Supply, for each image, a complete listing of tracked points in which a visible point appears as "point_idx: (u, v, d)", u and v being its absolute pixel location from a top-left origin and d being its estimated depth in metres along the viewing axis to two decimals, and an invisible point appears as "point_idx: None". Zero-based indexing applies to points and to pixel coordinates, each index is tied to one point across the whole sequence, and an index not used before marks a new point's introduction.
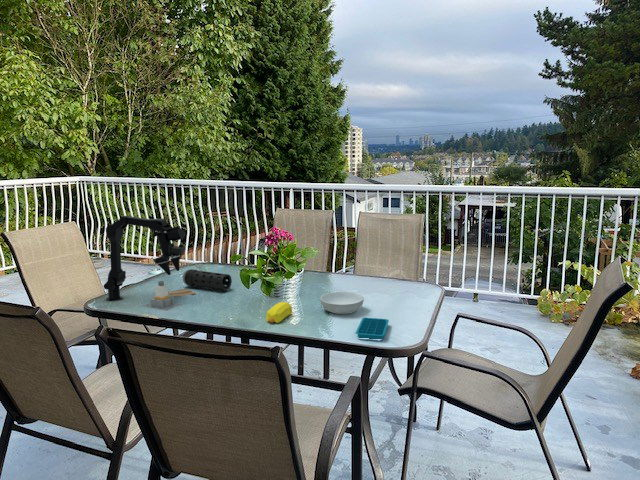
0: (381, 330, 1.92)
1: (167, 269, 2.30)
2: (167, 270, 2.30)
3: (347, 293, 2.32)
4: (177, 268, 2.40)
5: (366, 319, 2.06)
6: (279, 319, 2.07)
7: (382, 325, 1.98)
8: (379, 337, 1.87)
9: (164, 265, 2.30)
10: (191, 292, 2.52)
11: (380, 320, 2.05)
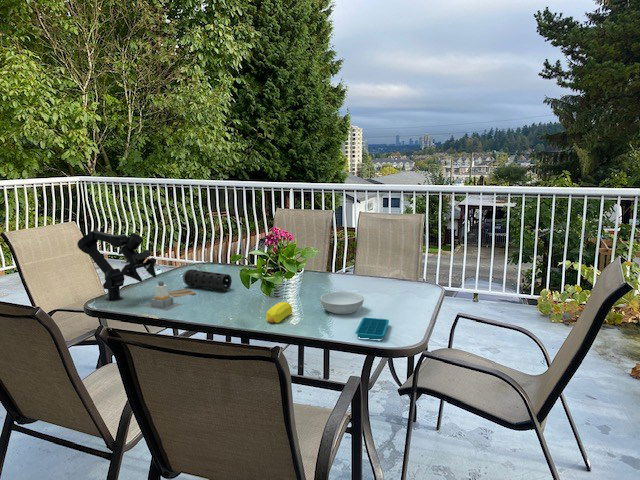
0: (381, 330, 1.92)
1: (136, 276, 2.27)
2: (137, 277, 2.27)
3: (347, 293, 2.32)
4: (153, 275, 2.36)
5: (366, 319, 2.06)
6: (279, 319, 2.07)
7: (382, 325, 1.98)
8: (379, 337, 1.87)
9: (133, 274, 2.28)
10: (191, 292, 2.52)
11: (380, 320, 2.05)
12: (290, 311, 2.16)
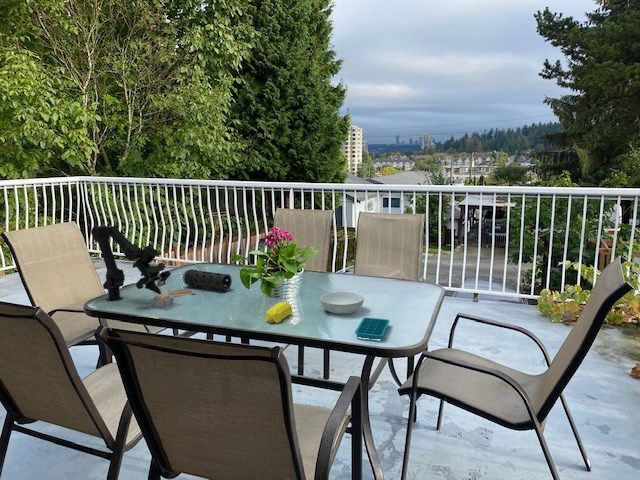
0: (381, 330, 1.92)
1: (155, 289, 2.26)
2: (156, 290, 2.26)
3: (347, 293, 2.32)
4: None
5: (367, 319, 2.06)
6: (278, 319, 2.07)
7: (382, 325, 1.98)
8: (378, 337, 1.87)
9: (151, 286, 2.27)
10: (191, 292, 2.52)
11: (381, 320, 2.04)
12: (290, 311, 2.16)
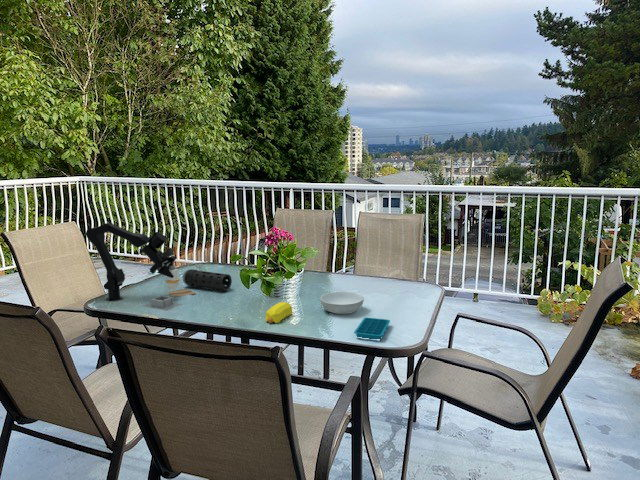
0: (380, 330, 1.92)
1: (168, 273, 2.34)
2: (168, 273, 2.34)
3: (347, 293, 2.32)
4: None
5: (368, 319, 2.06)
6: (278, 319, 2.07)
7: (382, 325, 1.98)
8: (377, 337, 1.87)
9: (163, 270, 2.34)
10: (191, 292, 2.52)
11: (381, 320, 2.04)
12: (290, 311, 2.16)
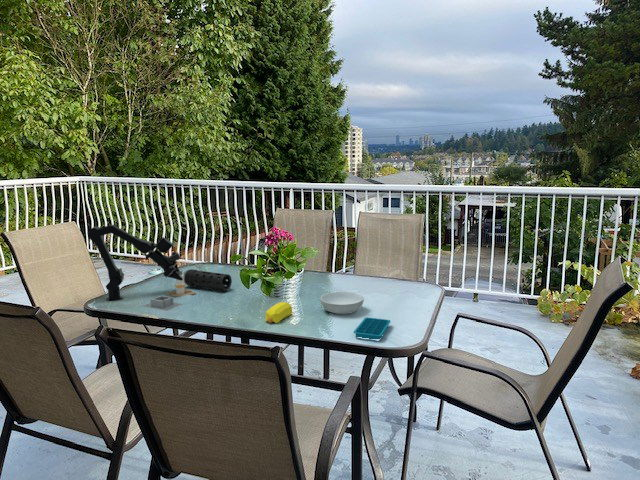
0: (380, 330, 1.92)
1: (178, 276, 2.46)
2: (178, 276, 2.46)
3: (347, 293, 2.32)
4: None
5: (368, 319, 2.06)
6: (278, 319, 2.07)
7: (382, 325, 1.98)
8: (376, 337, 1.87)
9: (173, 274, 2.45)
10: (191, 292, 2.52)
11: (382, 320, 2.04)
12: (290, 311, 2.16)
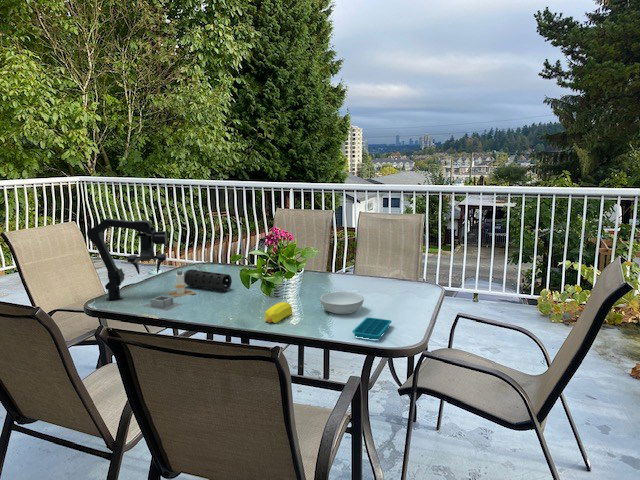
0: (379, 330, 1.92)
1: None
2: None
3: (347, 293, 2.32)
4: None
5: (370, 319, 2.06)
6: (277, 319, 2.07)
7: (383, 326, 1.98)
8: (374, 337, 1.87)
9: None
10: (191, 292, 2.52)
11: (383, 321, 2.04)
12: (290, 311, 2.16)
